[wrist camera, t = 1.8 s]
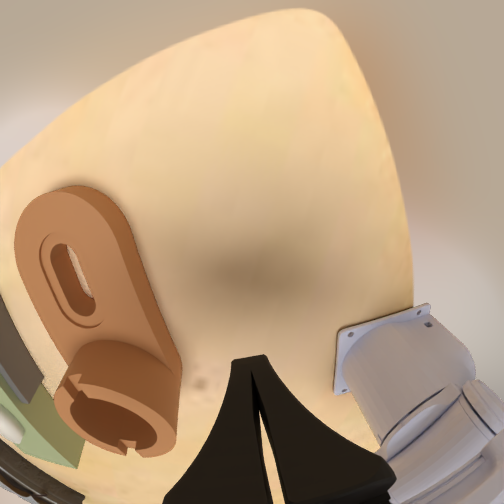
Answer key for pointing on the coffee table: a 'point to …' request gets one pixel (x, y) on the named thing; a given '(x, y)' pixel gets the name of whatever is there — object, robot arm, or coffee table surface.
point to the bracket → (100, 322)
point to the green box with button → (31, 404)
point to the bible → (32, 481)
